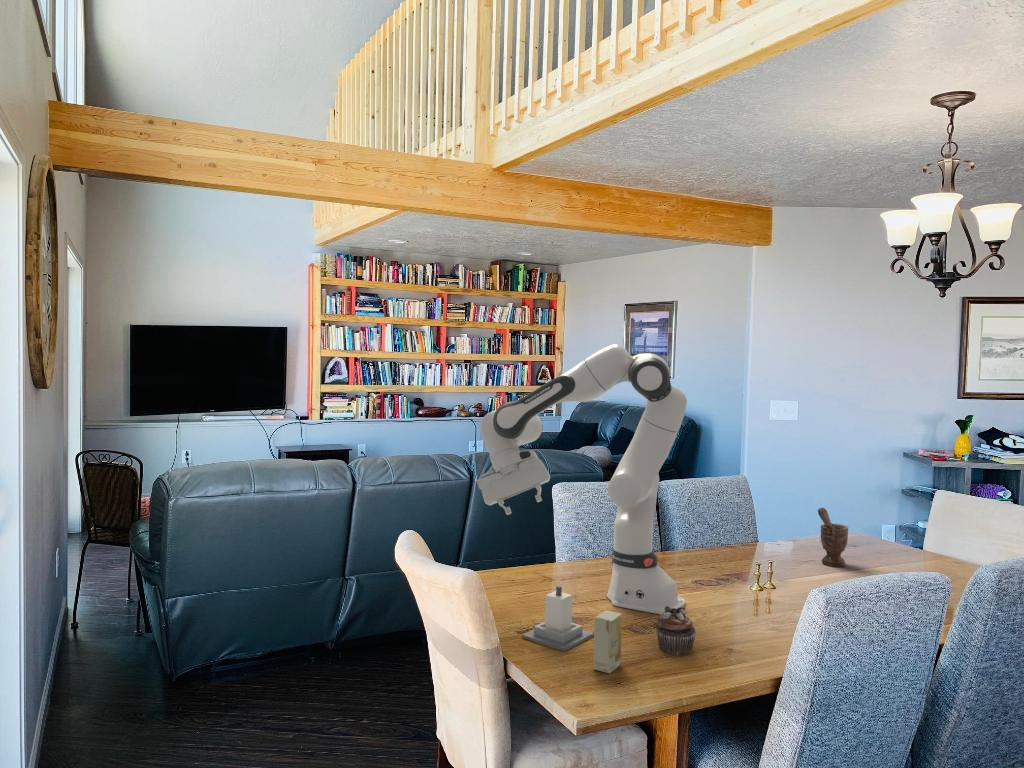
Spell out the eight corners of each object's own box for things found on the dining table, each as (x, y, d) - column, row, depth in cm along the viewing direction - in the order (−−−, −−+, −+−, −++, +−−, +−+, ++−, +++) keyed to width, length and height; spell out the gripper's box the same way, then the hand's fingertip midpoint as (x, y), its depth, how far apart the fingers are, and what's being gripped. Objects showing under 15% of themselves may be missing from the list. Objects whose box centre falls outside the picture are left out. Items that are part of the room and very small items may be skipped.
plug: (571, 633, 194) (572, 587, 193) (560, 638, 191) (561, 591, 190) (555, 628, 197) (556, 582, 197) (544, 633, 194) (545, 587, 193)
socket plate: (593, 636, 195) (594, 625, 195) (564, 651, 185) (564, 640, 185) (552, 623, 203) (552, 612, 203) (522, 637, 193) (522, 626, 193)
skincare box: (609, 674, 173) (611, 621, 172) (592, 669, 175) (593, 617, 174) (621, 664, 178) (622, 612, 178) (604, 660, 181) (605, 609, 180)
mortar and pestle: (838, 571, 253) (840, 511, 251) (812, 566, 258) (814, 507, 257) (850, 564, 261) (852, 506, 260) (824, 558, 267) (826, 502, 266)
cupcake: (658, 656, 183) (659, 615, 183) (653, 640, 193) (654, 601, 192) (699, 657, 183) (700, 616, 182) (691, 641, 192) (692, 602, 192)
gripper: (472, 474, 222) (488, 519, 217) (537, 447, 221) (555, 491, 216) (477, 479, 228) (493, 523, 222) (541, 453, 227) (558, 496, 221)
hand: (524, 507), depth 219 cm, fingers open, 8 cm apart
